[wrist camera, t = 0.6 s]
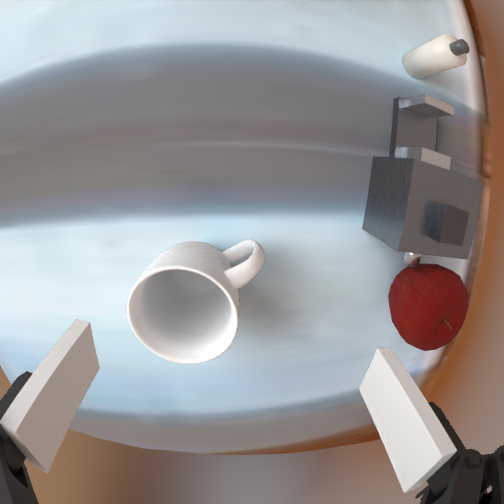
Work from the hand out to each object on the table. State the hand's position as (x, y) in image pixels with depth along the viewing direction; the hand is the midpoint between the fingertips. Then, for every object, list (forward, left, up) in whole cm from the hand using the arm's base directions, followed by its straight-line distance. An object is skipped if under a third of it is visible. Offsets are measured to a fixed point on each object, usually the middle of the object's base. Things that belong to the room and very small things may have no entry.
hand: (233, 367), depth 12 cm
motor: (-10, +23, -26) cm, 36 cm away
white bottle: (-27, +23, -26) cm, 44 cm away
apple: (+6, +27, -26) cm, 38 cm away
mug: (+6, -4, -26) cm, 27 cm away
